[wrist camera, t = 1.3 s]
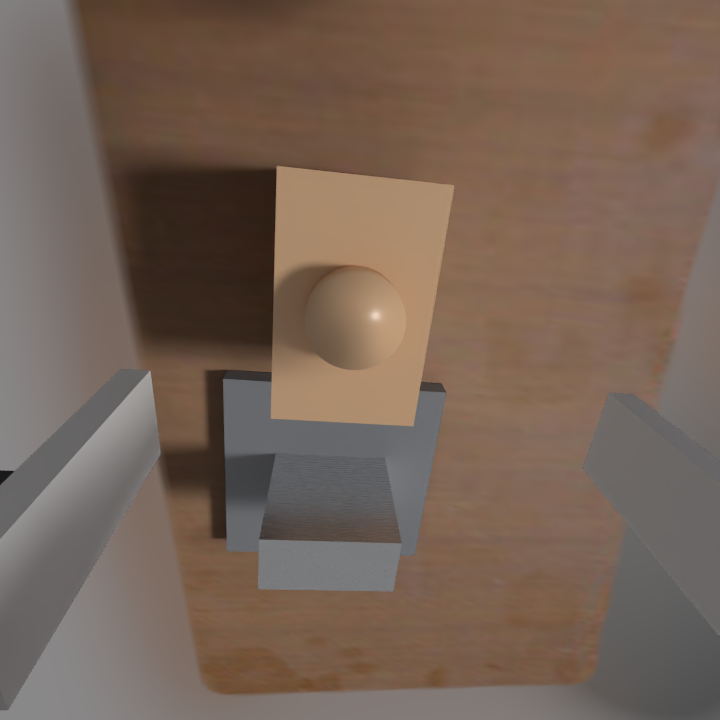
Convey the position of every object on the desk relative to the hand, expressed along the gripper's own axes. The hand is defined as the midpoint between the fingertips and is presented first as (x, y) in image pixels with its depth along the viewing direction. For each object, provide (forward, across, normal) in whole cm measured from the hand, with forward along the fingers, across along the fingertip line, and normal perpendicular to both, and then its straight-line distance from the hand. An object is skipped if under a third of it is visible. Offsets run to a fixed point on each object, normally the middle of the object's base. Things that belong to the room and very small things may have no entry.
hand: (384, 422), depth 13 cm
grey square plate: (+18, -1, -16) cm, 24 cm away
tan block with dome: (+19, -1, 0) cm, 19 cm away
